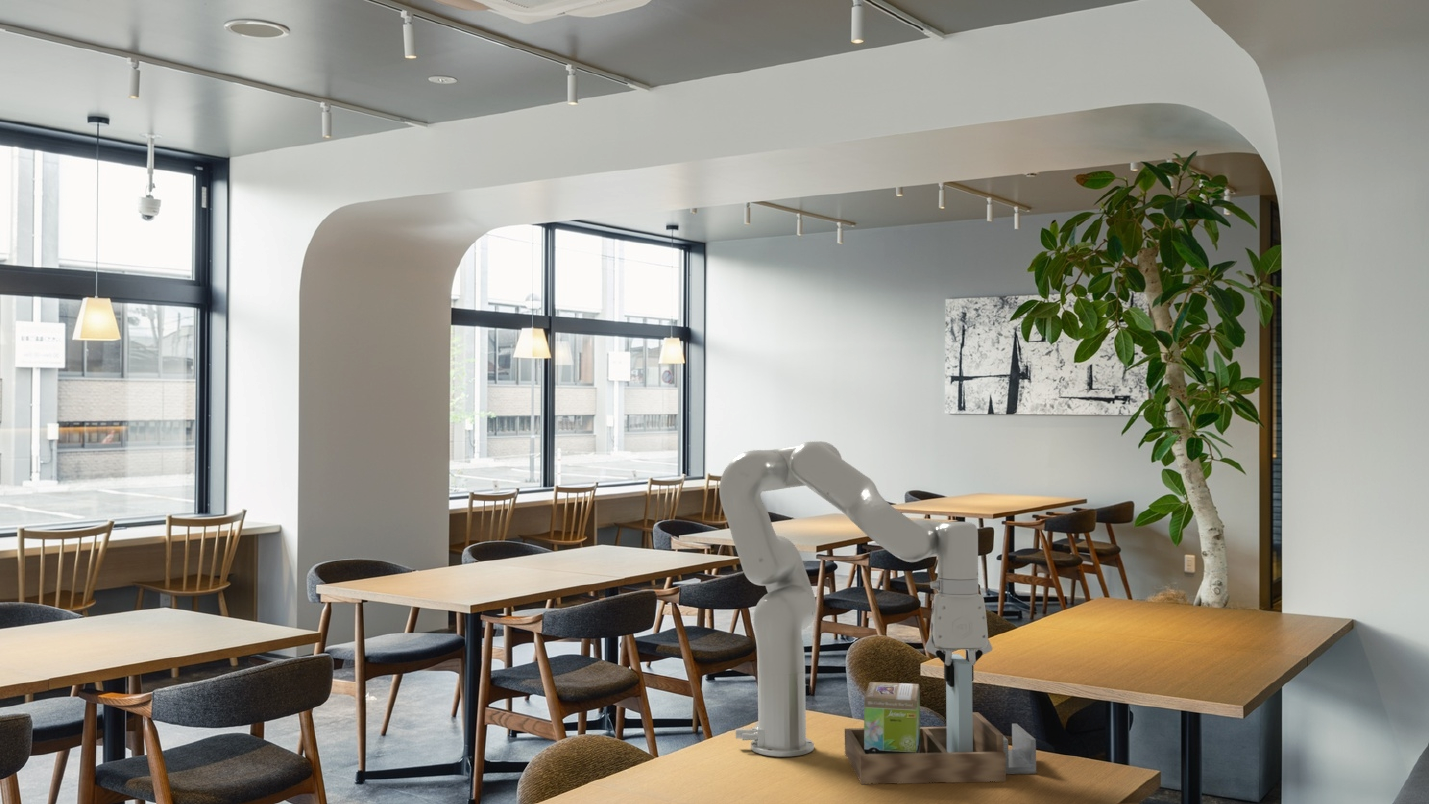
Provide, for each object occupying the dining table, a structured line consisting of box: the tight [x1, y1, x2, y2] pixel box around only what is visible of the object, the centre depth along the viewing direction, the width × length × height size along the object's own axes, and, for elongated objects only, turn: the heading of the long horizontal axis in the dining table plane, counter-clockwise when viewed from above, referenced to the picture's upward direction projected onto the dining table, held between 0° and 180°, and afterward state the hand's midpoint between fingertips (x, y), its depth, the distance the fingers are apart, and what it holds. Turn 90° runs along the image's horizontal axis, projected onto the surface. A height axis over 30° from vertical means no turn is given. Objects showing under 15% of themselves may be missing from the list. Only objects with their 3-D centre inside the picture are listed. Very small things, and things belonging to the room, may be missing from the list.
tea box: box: [863, 681, 921, 754], centre depth 217 cm, size 15×10×15 cm
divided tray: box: [844, 711, 1007, 785], centre depth 217 cm, size 26×20×8 cm
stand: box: [1003, 723, 1037, 775], centre depth 218 cm, size 6×12×6 cm, turn 2°
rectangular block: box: [945, 653, 973, 753], centre depth 218 cm, size 2×10×20 cm, turn 2°
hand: (958, 684), depth 218 cm, fingers closed on rectangular block, 2 cm apart
